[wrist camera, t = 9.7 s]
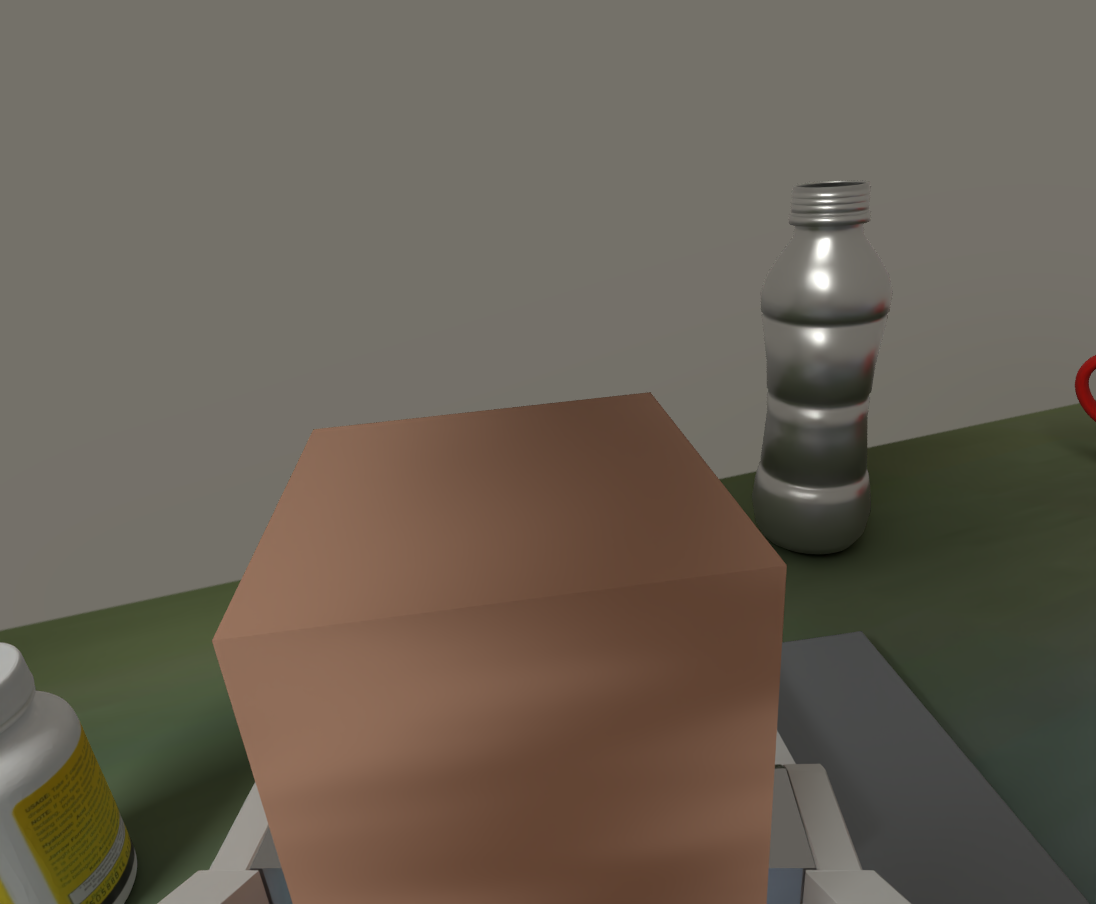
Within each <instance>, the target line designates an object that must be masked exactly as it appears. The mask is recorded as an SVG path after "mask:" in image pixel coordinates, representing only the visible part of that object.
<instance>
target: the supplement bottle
mask: <svg viewBox="0 0 1096 904" xmlns="http://www.w3.org/2000/svg"><path fill="white" fill-rule="evenodd" d="M136 872H137V856H136V852H135V849H134V846H133V844H132V841H131V838H130V836H129V834H128V831H127V829H126V826H125V824H124V822H123V819H122V817H121V815H120V812H119V810H118V807H117V805H116V802H115V800H114V798H113V796H112V793H111V791H110V789H109V787H108V784H107V782H106V780H105V777H104V775H103V773H102V771H101V769H100V767H99V764H98V762H97V760H96V758H95V755H94V753H93V751H92V749H91V746H90V744H89V742H88V739H87V737H86V735H85V733H84V730H83V728H82V725H81V723H80V721H79V719H78V717H77V715H76V713H75V712H74V710H73V708H72V707H71V706H70V705H69V704H68V702H66V701H65V700H64V699H62V698H61V697H59V696H56V695H54V694H51V693H48V692H43V691H35V685H34V678H33V675H32V673H31V672H30V670H29V668H28V666H27V664H26V662H25V660H24V658H23V656H22V654H21V652H20V651H19V650H18V649H17V648H16V647H15V646H13V645H10V644H7V643H0V904H124V903H125V901H126V899H127V898H128V896H129V894H130V892H131V889H132V886H133V884H134V881H135V877H136Z"/></svg>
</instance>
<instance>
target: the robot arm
mask: <svg viewBox="0 0 1096 904" xmlns="http://www.w3.org/2000/svg"><path fill="white" fill-rule="evenodd" d="M157 904H293V903H292V900H291V896H290V893H289V890H288V887H287V883H286V880H285V877H284V874H283V870H282V867H281V864H280V861H279V857H278V854H277V851H276V848H275V844H274V841H273V838H272V834H271V831H270V828H269V825H268V821H267V818H266V815H265V812H264V808H263V805H262V802H261V799H260V795H259V792H258V789H257V786H256V782H255V783H254V785H253V787H252V789H251V791H250V793H249V794H248V796H247V798H246V800H245V802H244V804H243V806H242V808H241V810H240V812H239V814H238V816H237V817H236V819H235V821H234V823H233V825H232V827H231V829H230V831H229V833H228V835H227V837H226V839H225V840H224V842H223V844H222V846H221V848H220V850H219V852H218V854H217V856H216V858H215V860H214V861H213V863H212V865H211V867H210V869H209V870H199V871H197V872H196V873H195V874H194V875H192V876H191V877H190V878H189V879H187V880H186V881H185V882H184V883H182V884H181V885H180V886H179V887H177V888H176V889H175V890H174V891H172V892H171V893H170V894H169V895H167V896H166V897H165V898H164V899H162V900H161V901H160V902H159V903H157ZM767 904H911V903H910V902H909V901H908V900H907V899H906V898H905V897H904V896H902V895H901V894H900V893H899V892H898V891H897V890H896V889H895V888H894V887H892V886H891V885H890V884H889V883H888V882H887V881H886V880H885V879H883V878H882V877H881V876H880V875H879V874H878V873H877V872H876V871H875V870H862V867H861V864H860V862H859V859H858V856H857V853H856V851H855V848H854V845H853V843H852V840H851V837H850V834H849V832H848V829H847V826H846V824H845V821H844V818H843V816H842V813H841V810H840V807H839V805H838V802H837V799H836V797H835V794H834V791H833V788H832V786H831V783H830V780H829V778H828V775H827V772H826V770H825V768H824V767H823V766H822V765H821V764H784V765H783V766H782V765H781V764H775V770H774V787H773V803H772V820H771V837H770V854H769V871H768V887H767Z"/></svg>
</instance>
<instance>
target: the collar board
mask: <svg viewBox="0 0 1096 904" xmlns="http://www.w3.org/2000/svg"><path fill="white" fill-rule="evenodd" d="M775 764H781V765H782V766H783V765H784V764H821V765H822V766H823V767H824V768H825V770H826V772H827V775H828V778H829V780H830V783H831V786H832V788H833V791H834V794H835V797H836V799H837V802H838V805H839V807H840V810H841V813H842V816H843V818H844V821H845V824H846V826H847V829H848V832H849V834H850V837H851V840H852V843H853V845H854V848H855V851H856V853H857V856H858V859H859V862H860V864H861V867H862V870H875V871H876V872H877V873H878V874H879V875H880V876H881V877H882V878H883V879H885V880H886V881H887V882H888V883H889V884H890V885H891V886H892V887H894V888H895V889H896V890H897V891H898V892H899V893H900V894H901V895H902V896H904V897H905V898H906V899H907V900H908V901H909V902H910V903H911V904H1090V903H1089V902H1088V901H1087V900H1086V899H1085V897H1084V896H1083V895H1082V894H1081V893H1080V891H1079V890H1078V889H1077V888H1076V887H1075V885H1074V884H1073V883H1072V882H1071V881H1070V879H1069V878H1068V877H1067V876H1066V875H1065V874H1064V872H1063V871H1062V870H1061V869H1060V868H1059V866H1058V865H1057V864H1056V863H1055V862H1054V860H1053V859H1052V858H1051V857H1050V856H1049V854H1048V853H1047V852H1046V851H1045V850H1044V848H1043V847H1042V846H1041V845H1040V844H1039V842H1038V841H1037V840H1036V839H1035V838H1034V837H1033V835H1032V834H1031V833H1030V832H1029V831H1028V829H1027V828H1026V827H1025V826H1024V825H1023V823H1022V822H1021V821H1020V820H1019V819H1018V817H1017V816H1016V815H1015V814H1014V813H1013V811H1012V810H1011V809H1010V808H1009V807H1008V805H1007V804H1006V803H1005V802H1004V801H1003V800H1002V798H1001V797H1000V796H999V795H998V794H997V792H996V791H995V790H994V789H993V788H992V786H991V785H990V784H989V783H988V782H987V780H986V779H985V778H984V777H983V776H982V774H981V773H980V772H979V771H978V770H977V768H976V767H975V766H974V765H973V764H972V763H971V761H970V760H969V759H968V758H967V757H966V755H965V754H964V753H963V752H962V751H961V749H960V748H959V747H958V746H957V745H956V743H955V742H954V741H953V740H952V739H951V737H950V736H949V735H948V734H947V733H946V731H945V730H944V729H943V728H942V727H941V726H940V724H939V723H938V722H937V721H936V720H935V718H934V717H933V716H932V715H931V714H930V712H929V711H928V710H927V709H926V708H925V706H924V705H923V704H922V703H921V702H920V700H919V699H918V698H917V697H916V696H915V694H914V693H913V692H912V691H911V690H910V689H909V687H908V686H907V685H906V684H905V683H904V681H903V680H902V679H901V678H900V677H899V675H898V674H897V673H896V672H895V671H894V669H893V668H892V667H891V666H890V665H889V663H888V662H887V661H886V660H885V659H884V657H883V656H882V655H881V654H880V653H879V652H878V650H877V649H876V648H875V647H874V646H873V644H872V643H871V642H870V641H869V640H868V638H867V637H866V636H865V635H864V634H863V632H862V631H860V632H853V633H846V634H839V635H832V636H825V637H818V638H811V639H804V640H797V641H790V642H783V643H782V652H781V669H780V686H779V703H778V720H777V736H776V753H775Z"/></svg>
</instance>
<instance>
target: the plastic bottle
mask: <svg viewBox="0 0 1096 904" xmlns="http://www.w3.org/2000/svg"><path fill="white" fill-rule="evenodd" d="M869 200H870V182H869V181H858V180H857V181H856V180H851V181H850V180H849V181H848V180H847V181H825V182H813V183H804V184H798V185H794V186H793V190H792V202H791V214H789V224H790V225H794V226H795V230H794V235H793V238H792V239H791V241H790V242H789V243H788V244H787V246H786V247H785V248H784V250H783V251H782V253H781V254H780V255H779V256H778V258H777V259H776V261H775V262H774V264H773V266H772V267H771V269H770V270H769V273H768V274H767V275H766V278H765V281H764V284H763V287H762V290H761V311H762V313H763V314H762V321H763V331H764V341H765V350H766V359H767V388H768V393H767V415H766V423H765V431H764V438H763V445H762V454H761V461H760V463H759V466H758V469H757V473H756V476H755V482H754V487H753V493H752V501H753V508H754V515H755V521H756V523H757V525H758V526H759V528H760V529H761V531H762V532H763V534H764V535H765V536H766V537H767V538H768V539H769V540H770V541H771V542H773V543H774V544H776V545H778V546H780V547H782V548H785V549H788V550H791V551H795V552H799V553H805V554H830V553H836V552H839V551H842V550H844V549H846V548H848V547H850V546H851V545H852V544H853V543H854V542H855V541H856V540H857V539H858V538H859V537H860V536H861V535H862V534H863V532H864V530H865V527H866V524H867V520H868V517H869V514H870V511H871V494H870V480H869V474H868V470H867V415H868V409H869V403H870V397H869V394H870V393H871V390H872V383H873V377H874V370H875V365H876V361H877V357H878V353H879V349H880V345H881V341H882V337H883V334H884V330H885V326H886V322H887V318H888V315H887V313H888V312H889V311H890V305H891V299H892V287H891V282H890V277H889V273H888V271H887V270H886V268H885V266H884V264H883V262H882V261H881V259H880V257H879V256H878V254H877V252H876V251H875V249H874V248H873V247H872V245H871V244H870V242H869V241H868V240H867V238H866V237H865V235H864V230H863V223H867V222H869V221H870V217H871V211H870V210H869Z"/></svg>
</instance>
